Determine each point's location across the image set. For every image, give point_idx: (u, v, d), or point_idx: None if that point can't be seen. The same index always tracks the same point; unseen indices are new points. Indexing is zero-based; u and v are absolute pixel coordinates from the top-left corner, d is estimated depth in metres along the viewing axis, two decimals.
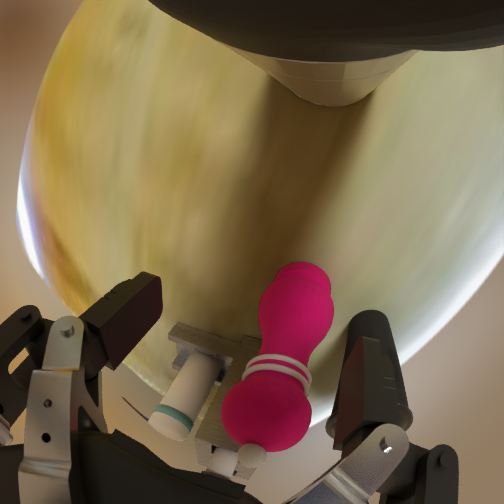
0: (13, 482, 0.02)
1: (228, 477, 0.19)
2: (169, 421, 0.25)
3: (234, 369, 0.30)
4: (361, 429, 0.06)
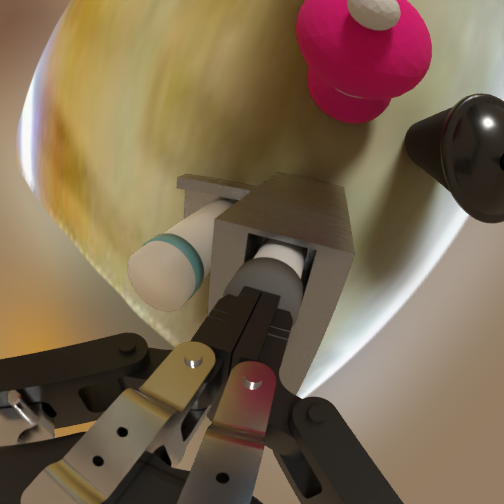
0: (12, 482, 0.02)
1: None
2: (165, 248, 0.17)
3: (271, 183, 0.22)
4: None
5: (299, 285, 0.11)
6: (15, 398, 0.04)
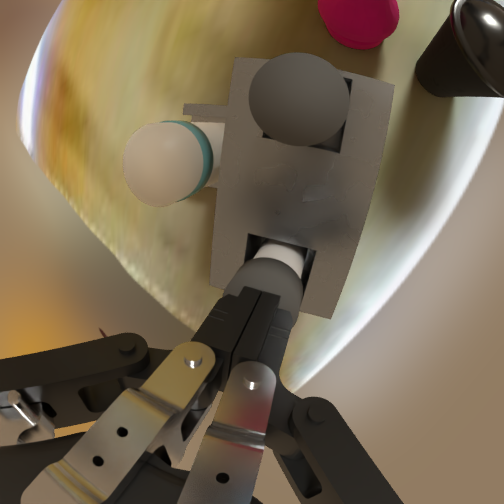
0: (12, 482, 0.02)
1: None
2: (170, 123, 0.14)
3: None
4: None
5: None
6: (15, 398, 0.04)
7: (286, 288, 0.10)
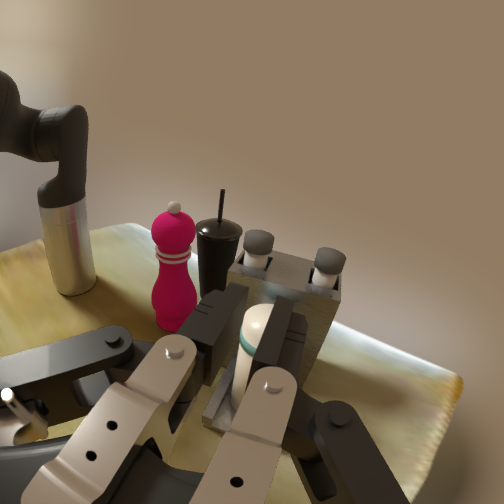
0: (13, 482, 0.02)
1: None
2: None
3: None
4: None
5: None
6: (8, 396, 0.04)
7: (320, 248, 0.29)
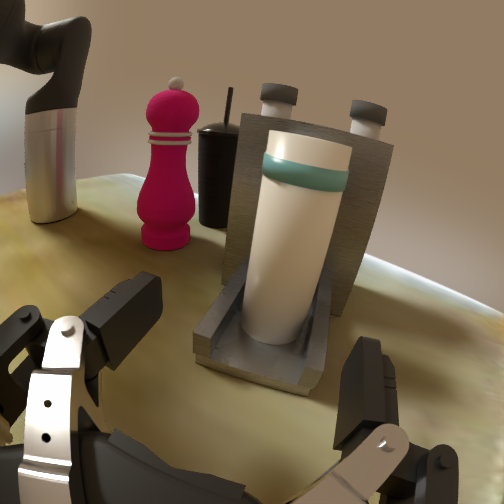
0: (13, 481, 0.02)
1: None
2: None
3: None
4: (361, 429, 0.06)
5: None
6: None
7: None
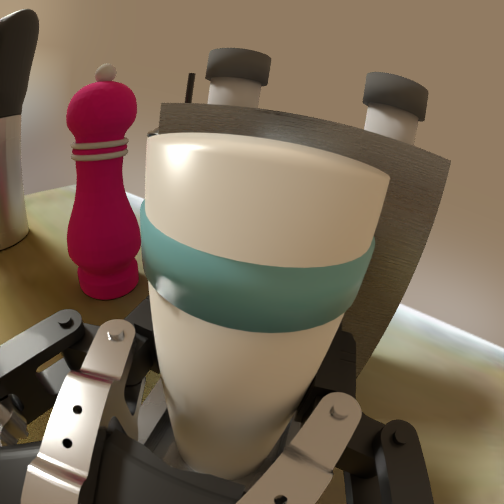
0: (13, 481, 0.02)
1: None
2: None
3: None
4: (315, 398, 0.07)
5: None
6: None
7: None
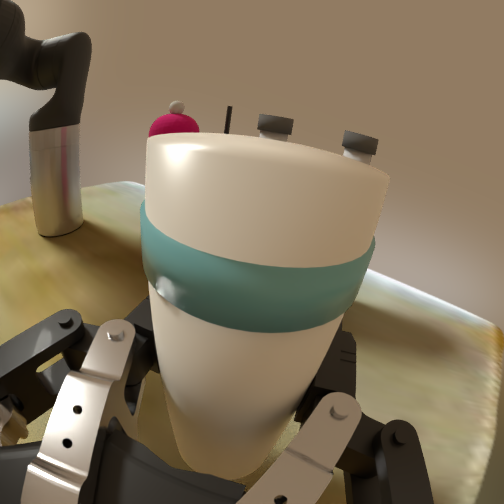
0: (13, 481, 0.02)
1: None
2: None
3: None
4: (315, 398, 0.07)
5: None
6: None
7: None
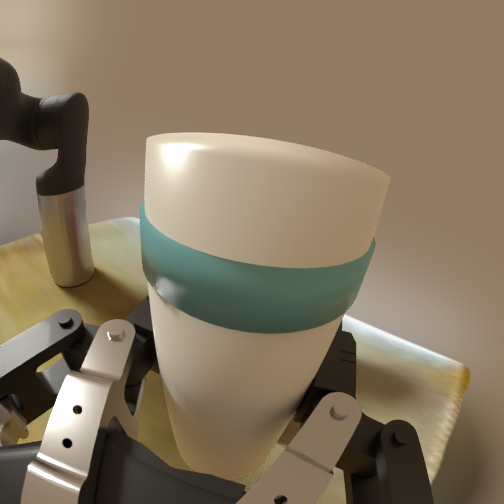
0: (13, 482, 0.02)
1: None
2: None
3: None
4: (315, 398, 0.07)
5: None
6: None
7: None
